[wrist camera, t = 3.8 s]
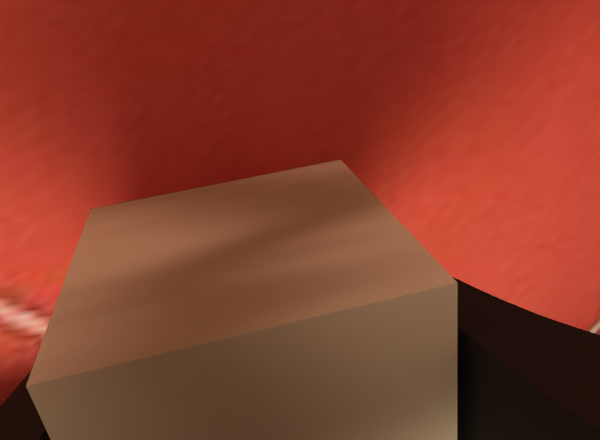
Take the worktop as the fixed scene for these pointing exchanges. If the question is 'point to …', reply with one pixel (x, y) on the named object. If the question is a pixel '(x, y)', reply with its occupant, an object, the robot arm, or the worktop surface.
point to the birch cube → (251, 319)
